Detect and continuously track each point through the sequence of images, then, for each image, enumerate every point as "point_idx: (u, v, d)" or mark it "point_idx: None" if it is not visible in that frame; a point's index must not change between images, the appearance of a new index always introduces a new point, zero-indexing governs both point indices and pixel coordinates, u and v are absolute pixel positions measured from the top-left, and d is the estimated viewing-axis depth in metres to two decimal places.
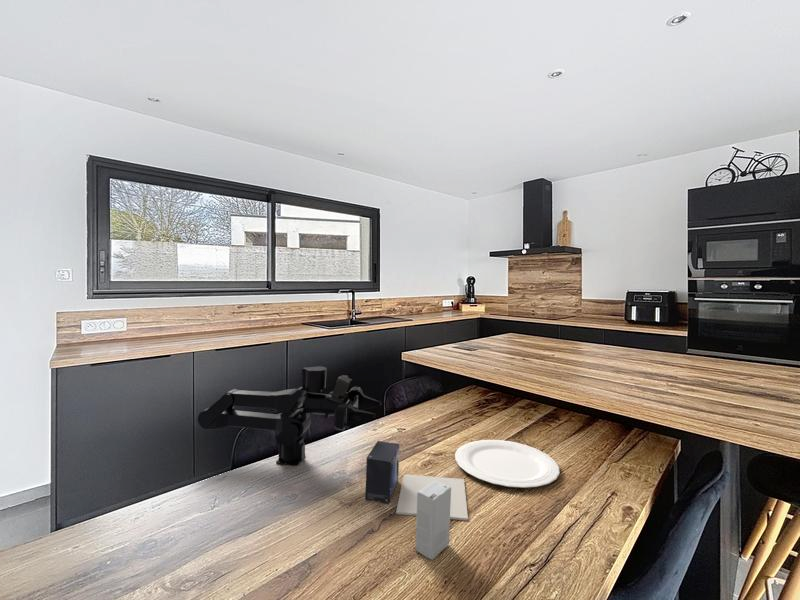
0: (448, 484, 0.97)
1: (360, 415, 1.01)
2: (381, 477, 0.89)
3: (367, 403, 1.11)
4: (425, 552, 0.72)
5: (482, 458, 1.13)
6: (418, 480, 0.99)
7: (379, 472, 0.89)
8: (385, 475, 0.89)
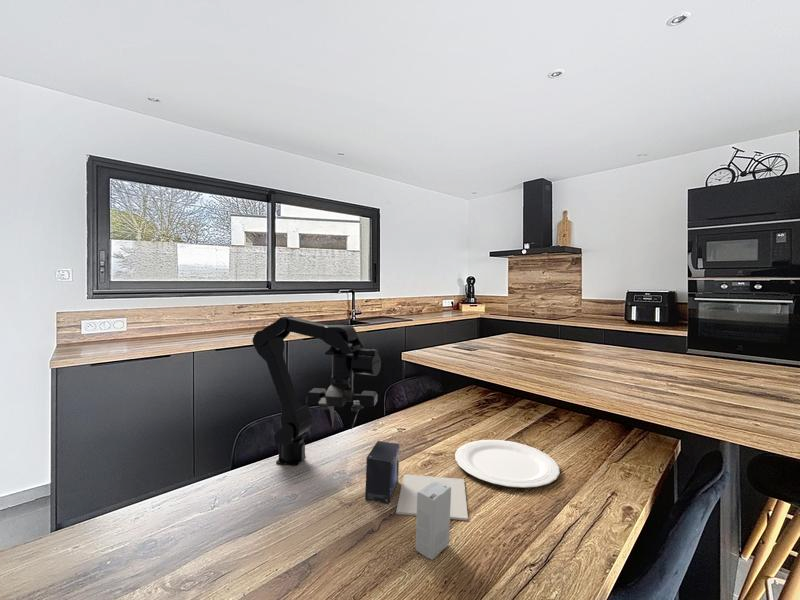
0: (448, 484, 0.97)
1: None
2: (381, 477, 0.89)
3: None
4: (425, 552, 0.72)
5: (482, 458, 1.13)
6: (418, 480, 0.99)
7: (379, 472, 0.89)
8: (385, 475, 0.89)
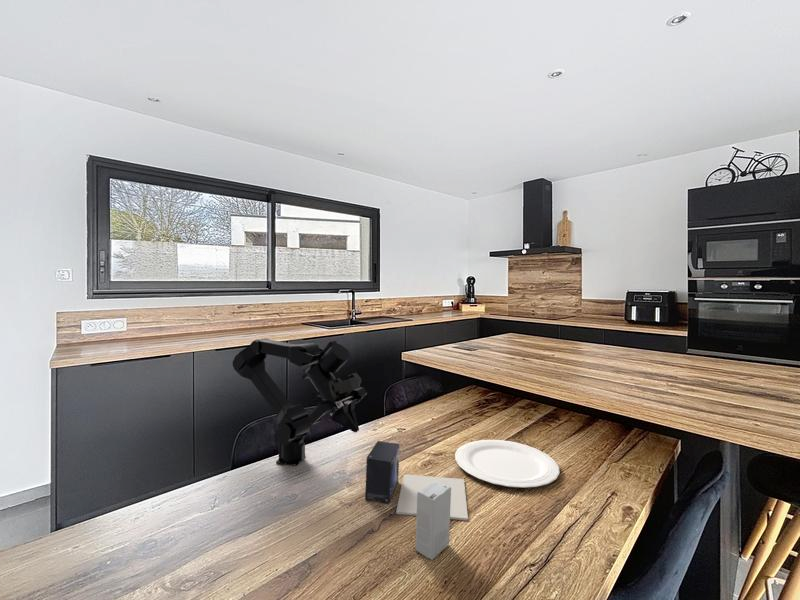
0: (448, 484, 0.97)
1: (346, 420, 0.98)
2: (381, 477, 0.89)
3: None
4: (425, 552, 0.72)
5: (482, 458, 1.13)
6: (418, 480, 0.99)
7: (379, 472, 0.89)
8: (385, 475, 0.89)
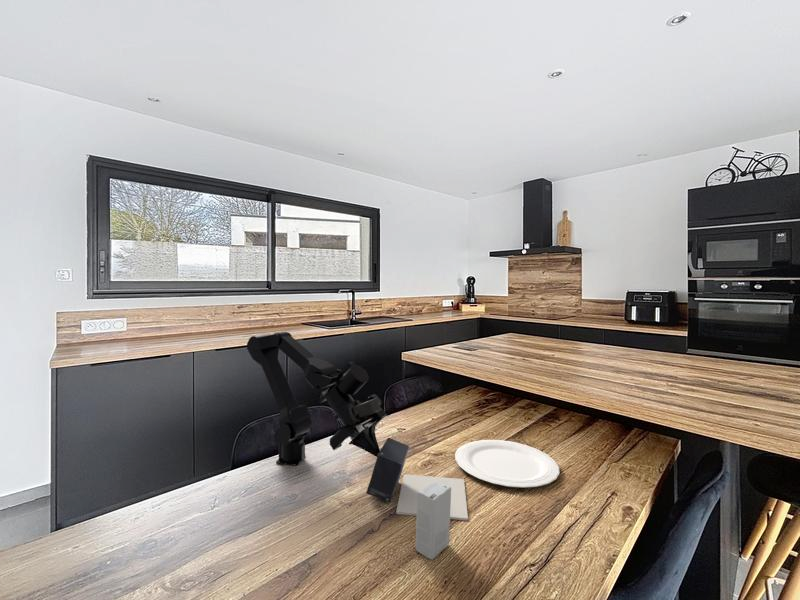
0: (448, 484, 0.97)
1: (367, 444, 0.95)
2: (388, 476, 0.89)
3: None
4: (425, 552, 0.72)
5: (482, 458, 1.13)
6: (418, 480, 0.99)
7: (387, 471, 0.89)
8: (393, 475, 0.89)
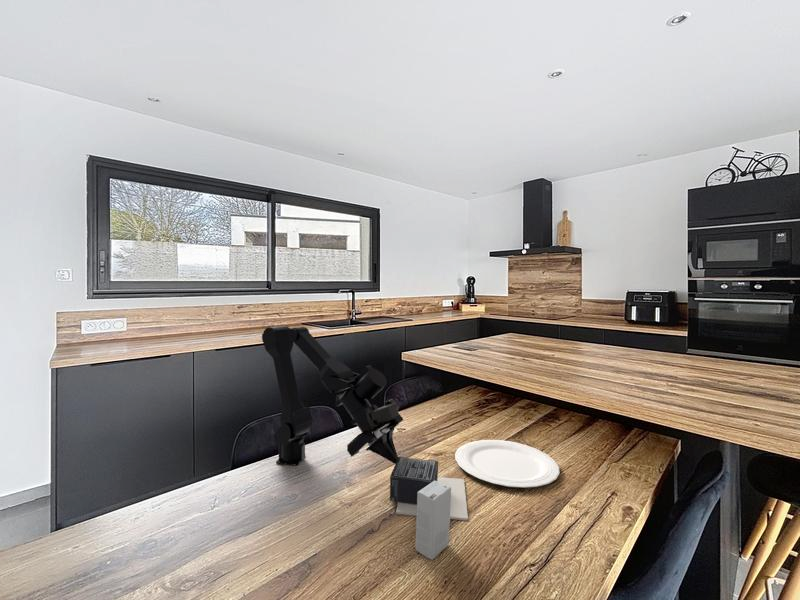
0: (448, 484, 0.97)
1: (385, 450, 0.92)
2: (415, 495, 0.88)
3: None
4: (425, 552, 0.72)
5: (482, 458, 1.13)
6: None
7: None
8: None
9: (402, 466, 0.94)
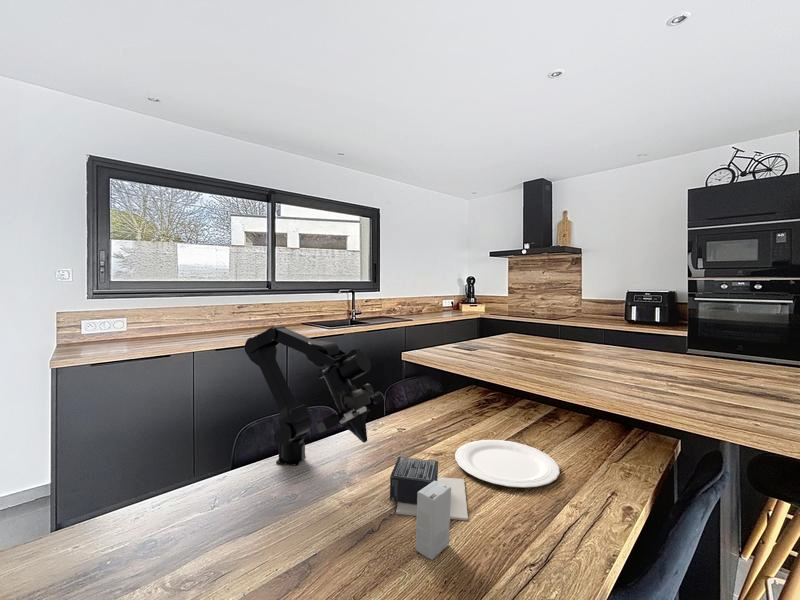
0: (448, 484, 0.97)
1: (355, 430, 0.98)
2: (415, 495, 0.88)
3: (359, 427, 0.99)
4: (425, 552, 0.72)
5: (482, 458, 1.13)
6: None
7: None
8: None
9: (402, 466, 0.94)
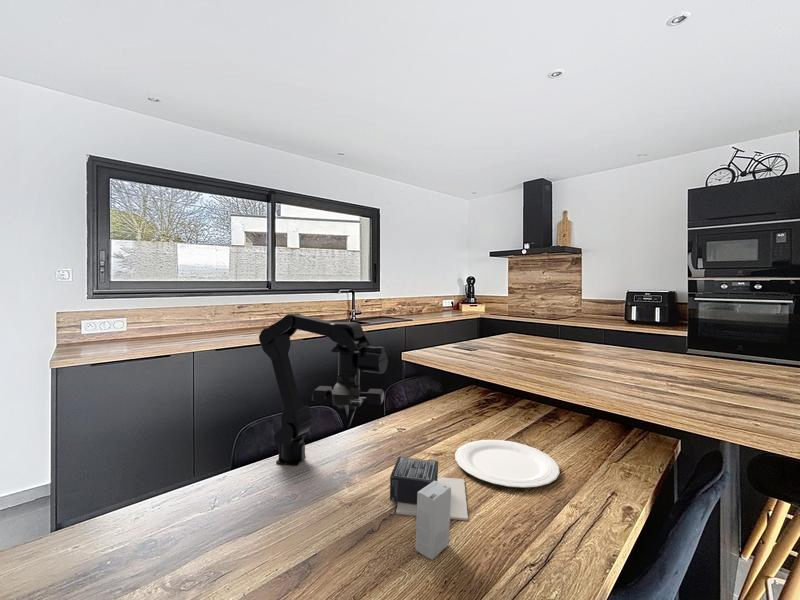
0: (448, 484, 0.97)
1: None
2: (415, 495, 0.88)
3: None
4: (425, 552, 0.72)
5: (482, 458, 1.13)
6: None
7: None
8: None
9: (402, 466, 0.94)
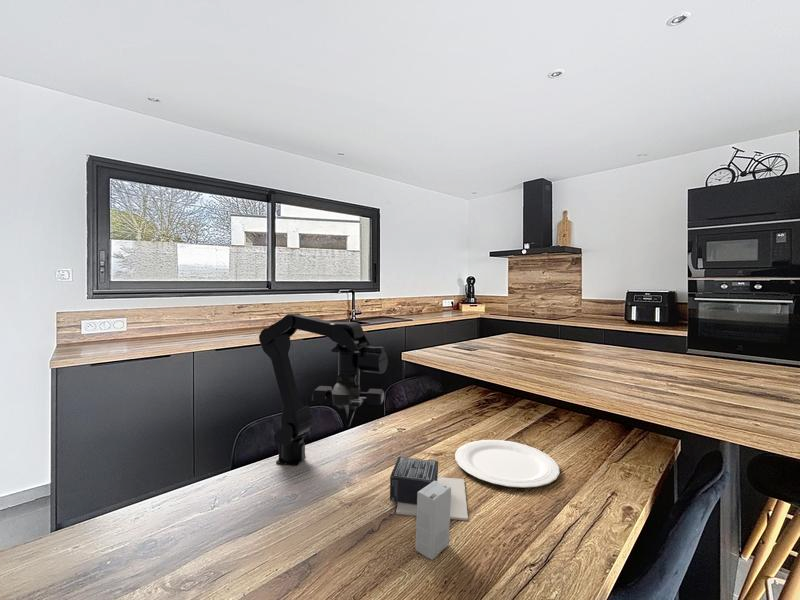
0: (448, 484, 0.97)
1: None
2: (415, 495, 0.88)
3: None
4: (425, 552, 0.72)
5: (482, 458, 1.13)
6: None
7: None
8: None
9: (402, 466, 0.94)
